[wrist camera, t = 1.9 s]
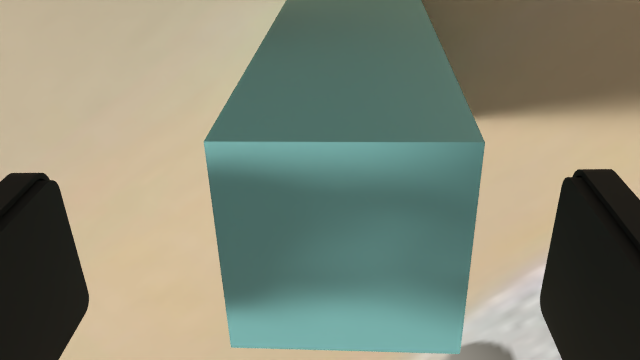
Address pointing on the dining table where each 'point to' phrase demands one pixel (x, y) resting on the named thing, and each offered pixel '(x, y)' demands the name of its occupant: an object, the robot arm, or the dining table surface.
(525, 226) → the dining table surface
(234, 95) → the teal post
